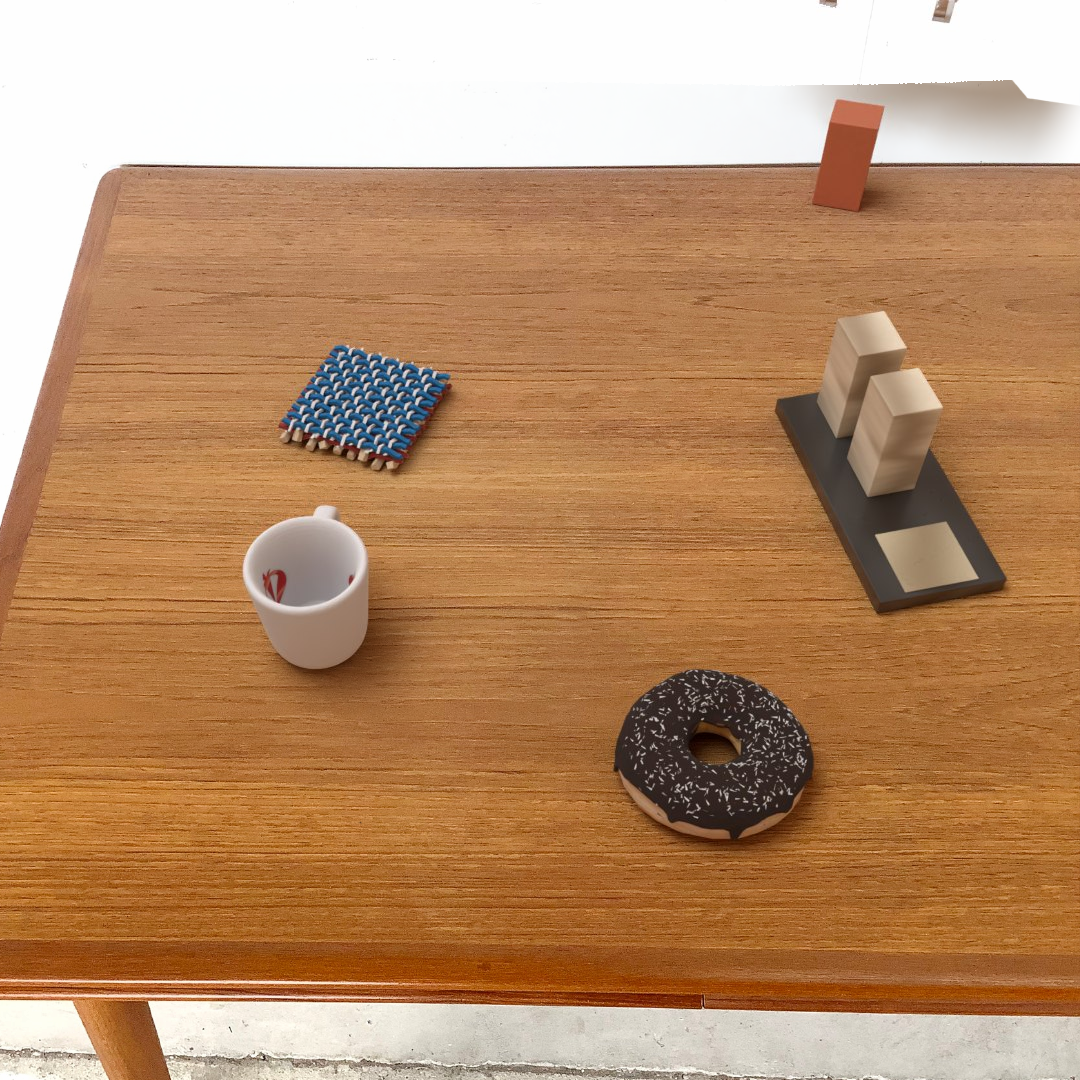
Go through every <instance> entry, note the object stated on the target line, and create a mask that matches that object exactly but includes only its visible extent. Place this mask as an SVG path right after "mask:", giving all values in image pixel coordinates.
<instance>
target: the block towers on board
mask: <svg viewBox="0 0 1080 1080" xmlns="http://www.w3.org/2000/svg"><path fill="white" fill-rule="evenodd" d="M907 350H908V347H907V345H906V344H905V342H904V340H903V339H902V337H901V336H900V334H899V332H898V330H897V329H896V327H895V326H894V324H893V323H892V321H891V319H890V317H889V316H888V314H887V312H885V310H881V311H876V312H870V313H869V312H868V313H864V314H859V315H858V314H857V315H851V316H846V317H839V318H837V320H836V323H835V328H834V331H833V336H832V340H831V343H830V348H829V351H828V355H827V360H826V363H825V368H824V371H823V374H822V380H821V384H820V387H819V390H818V391H817V392H810V393H806V394H799V395H794V396H793V395H792V396H788V397H783V398H777V399H776V403H775V407H774V411H775V414H776V415H777V417H778V420H779V422H780V424H781V426H782V427H783V430H784V432H785V434H786V436H787V437H788V440H789V442H790V444H791V446H792V448H793V449H794V452H795V453H796V456H797V458H798V459H799V462H800V464H801V465H802V467H803V469H804V471H805V473H806V475H807V477H808V479H809V481H810V484H811V486H812V488H813V490H814V491H815V493H816V496H817V498H818V499H819V501H820V504H821V505H822V507H823V510H824V511H825V513H826V516H827V517H828V519H829V521H830V523H831V526H832V527H833V529H834V532H835V534H836V535H837V537H838V539H839V541H840V544H841V546H842V547H843V549H844V551H845V553H846V555H847V557H848V559H849V561H850V563H851V566H852V567H853V569H854V571H855V573H856V575H857V577H858V579H859V581H860V583H861V585H862V587H863V589H864V591H865V593H866V595H867V597H868V599H869V601H870V603H871V604H872V607H873V609H874V611H875V613H876V614H881V613H887V612H891V611H897V610H901V609H907V608H912V607H916V606H923V605H928V604H932V603H938V602H943V601H944V602H945V601H950V600H954V599H960V598H964V597H969V596H975V595H979V594H980V595H981V594H986V593H990V592H995V591H1000V590H1003V589H1004V586H1005V585H1006V582H1007V580H1008V579H1007V576H1006V575H1005V573H1004V571H1003V569H1002V568H1001V566H1000V564H999V562H998V561H997V559H996V557H995V555H994V553H993V552H992V550H991V549H990V547H989V545H988V544H987V542H986V540H985V538H984V537H983V535H982V534H981V531H980V530H979V529H978V527H977V525H976V523H975V522H974V520H973V518H972V517H971V515H970V514H969V512H968V510H967V508H966V507H965V505H964V503H963V502H962V500H961V498H960V496H959V494H958V493H957V491H956V489H955V487H954V486H953V485H952V483H951V481H950V480H949V478H948V476H947V475H946V473H945V470H944V469H943V468H942V465H941V464H940V463H939V461H938V459H937V457H936V456H935V454H934V452H933V451H932V449H931V447H930V445H931V443H932V440H933V437H934V435H935V431H936V430H937V427H938V423H939V421H940V418H941V415H942V412H943V410H944V406H943V404H942V403H941V401H940V399H939V398H938V396H937V395H936V393H935V391H934V389H933V388H932V386H931V384H930V383H929V381H928V380H927V378H926V377H925V375H924V373H923V372H922V370H921V369H920V368H921V367H914V368H909V369H903V370H901V368H902V366H903V365H902V364H903V361H904V359H905V355H906V352H907Z"/></svg>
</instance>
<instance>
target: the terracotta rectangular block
mask: <svg viewBox="0 0 1080 1080" xmlns="http://www.w3.org/2000/svg"><path fill="white" fill-rule="evenodd" d="M884 111H885V106H884V105H879V104H873V103H865V102H859V101H852V100H847V99H846V100H845V99H839V98H836V99H835V101H834V106H833V109H832V113H831V116H830V118H829V122H828V126H827V131H826V136H825V140H824V146H823V149H822V155H821V159H820V164H819V169H818V174H817V179H816V183H815V188H814V192H813V198H812V204H811V205H817V206H822V207H828V208H835V209H840V210H847V211H853V212H859V210H860V206H861V203H862V199H863V195H864V191H865V188H866V183H867V180H868V176H869V171H870V167H871V163H872V160H873V155H874V151H875V147H876V143H877V139H878V134H879V131H880V127H881V123H882V118H883V116H884Z"/></svg>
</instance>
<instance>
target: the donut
mask: <svg viewBox="0 0 1080 1080" xmlns="http://www.w3.org/2000/svg"><path fill="white" fill-rule="evenodd" d="M700 733H708V734H715V735H718V736H721V737H722V738H723V737H724V738H725V739H727V740H729V741H730V743H731V744H732V745H733V747H734V749H735V750H736V752H737V754H738V757H737V758H734V759H733V760H730V761H729V762H725V763H723V764H721V763H720V764H712V763H708V762H705V761H701V760H700V759H698V758H697V757H695V756H694V755H693V754H692V753H691V750H690V749H689V746H690V742H691V741H692V739H693V738H694V737H695V735H696V734H700ZM613 762H614V763H613V769H612V771H613V772H614V773H618V772H619V773H618V774H619V775H620V779H621V782H622V785H623V787H624V788H625V790H626V791H627V793H628V794H629V796H630V797H631V798H632V799H633V801H634V803H635V804H636V806H638V808H639V809H640V810H641V811H642V812H644V813H645V814H647V815H648V816H650V817H651V818H652V819H653V820H654V821H656V822H658V823H659V824H661V825H664V826H666V827H668V828H670V829H672V830H675V831H676V832H678V833H683V834H687V835H691V836H695V837H696V836H697V837H702V838H707V839H712V840H731V841H733V842H734V841H737V840H738V839H741V838H745V837H749V836H751V835H755V834H758V833H760V832H763V831H765V830H767V829H769V828H771V827H773V826H775V825H777V824H778V823H779V822H781V821H782V820H783V819H784V818H785V817H787V815H789V814H790V813H791V812H792V810H793V809H794V808H795V807H796V805H797V804H798V802H799V801H800V799H801V796H802V794H803V791H804V789H805V785H806V784H807V783H808V781H811V780H813V771H814V768H815V767H814V765H815V757H814V753H813V749H812V743H811V740H810V736H809V733H807V731H806V729H805V728H804V726H803V725H802V723H801V722H800V721H799V720H798V717H797V715H796V714H794V713H793V711H792V710H791V709H790V707H788V706H787V705H786V704H785V703H784V702H783V700H782V699H781V698H780V697H778V696H777V695H776V694H775V692H771V691H770V690H769V689H768V688H767V687H764V686H762V685H761V684H760V683H758V682H755V681H753V680H750V679H748V678H745V677H743V676H740V675H737V674H731V673H729V672H723V671H721V670H717V669H702V668H692V669H686V670H683V671H680V672H678V673H675V674H673V675H671V676H669V677H667V678H666V679H664V680H662V681H661V682H659V683H657V684H655V685H654V686H653V687H651V688H650V689H649V690H647V691H646V692H645V693H643V694H642V695H640V697H638V699H636V701H635V702H634V703H633V704H632V705H631V707H630V709H629V711H628V713H627V714H626V715H625V718H624V721H623V723H622V726H621V728H620V731H619V734H618V737H617V739H616V744H615V749H614V761H613Z"/></svg>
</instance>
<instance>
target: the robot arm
mask: <svg viewBox="0 0 1080 1080" xmlns="http://www.w3.org/2000/svg"><path fill="white" fill-rule="evenodd" d="M958 1H959V0H936V3H935V6H934V11H933V14H932V19H931V21H932V22H938V23H943V24H950V22H951V19H952V16H953V12H954V9H955V4H956V3H958ZM818 3H819V4H823V5H826V6H830V7H829V8H833V7H835V8H834V9H837V7H836V6H838V3H837V0H819V1H818ZM819 4H818V5H819Z"/></svg>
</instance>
